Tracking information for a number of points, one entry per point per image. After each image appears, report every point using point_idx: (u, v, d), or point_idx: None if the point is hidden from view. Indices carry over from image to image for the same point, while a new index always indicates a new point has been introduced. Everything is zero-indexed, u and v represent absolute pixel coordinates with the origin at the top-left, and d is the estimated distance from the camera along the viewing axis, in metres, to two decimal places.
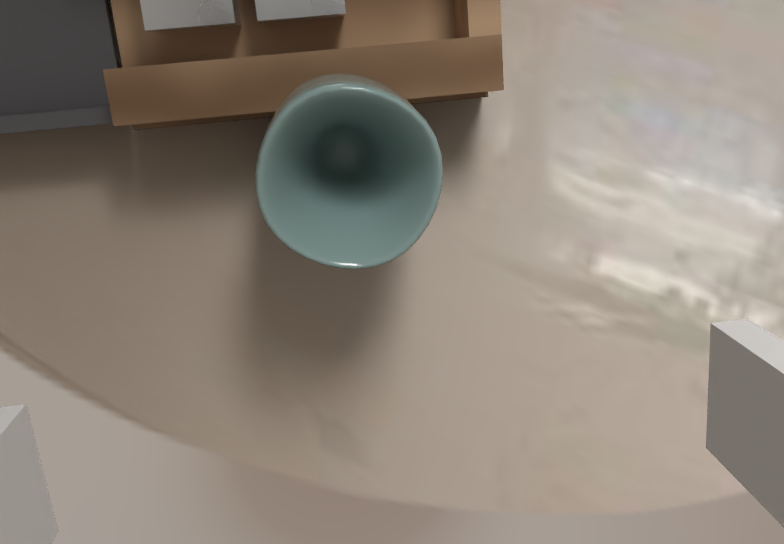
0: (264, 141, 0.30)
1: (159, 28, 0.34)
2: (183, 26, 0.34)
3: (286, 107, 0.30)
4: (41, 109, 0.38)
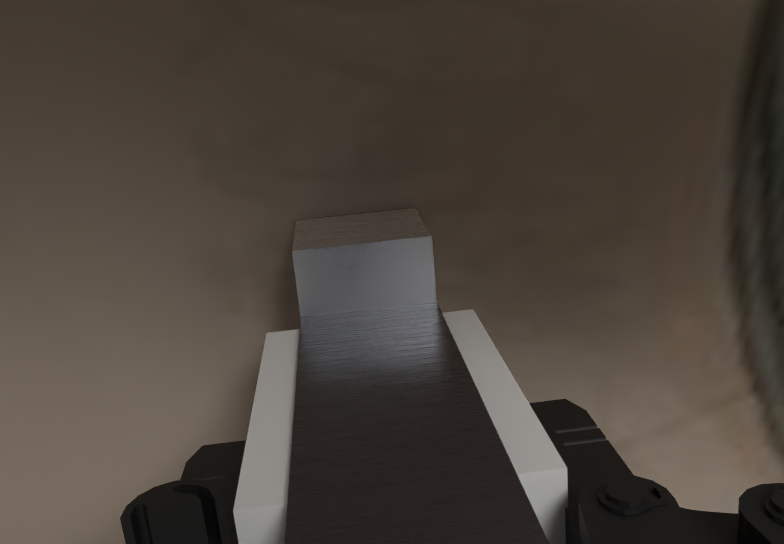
0: None
1: None
2: None
3: None
4: None
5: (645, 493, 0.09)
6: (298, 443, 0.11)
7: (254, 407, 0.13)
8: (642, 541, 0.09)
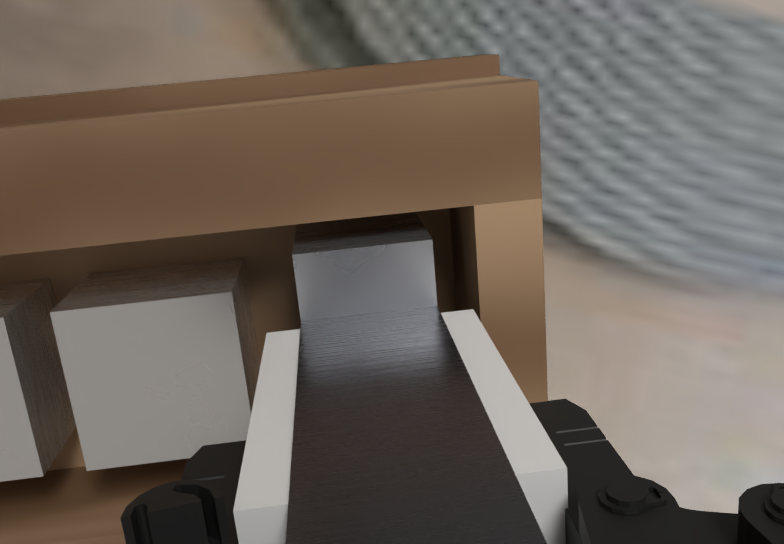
0: None
1: None
2: None
3: None
4: None
5: (645, 493, 0.09)
6: (299, 449, 0.11)
7: (254, 407, 0.13)
8: (642, 541, 0.09)
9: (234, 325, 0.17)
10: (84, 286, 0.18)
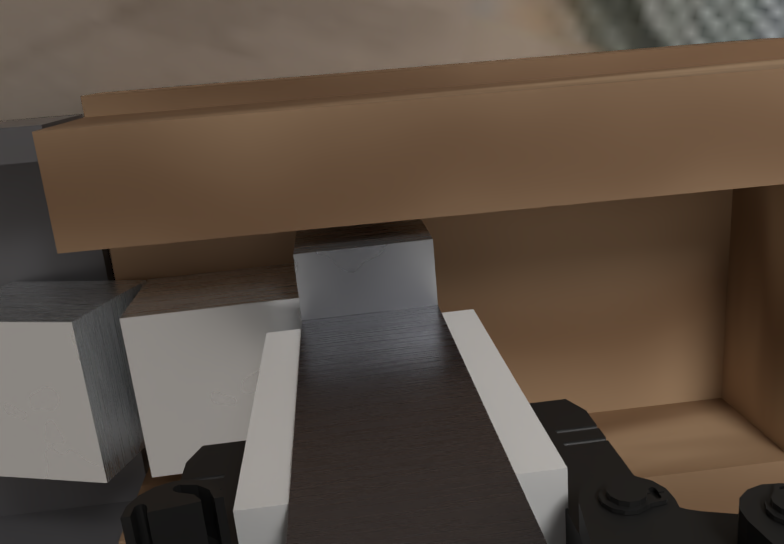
0: None
1: None
2: (24, 475, 0.18)
3: None
4: (8, 513, 0.22)
5: (645, 493, 0.09)
6: (299, 447, 0.11)
7: (254, 407, 0.13)
8: (642, 541, 0.09)
9: None
10: (147, 292, 0.18)
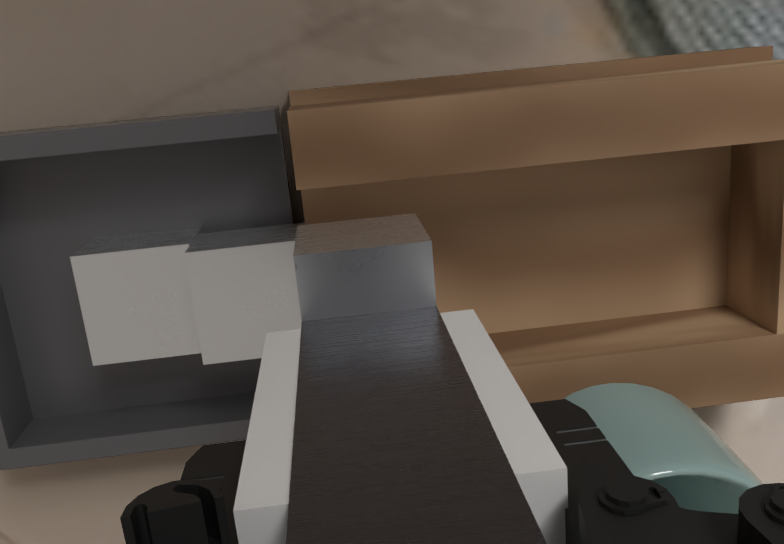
0: None
1: (111, 362, 0.27)
2: (141, 358, 0.27)
3: None
4: (213, 395, 0.30)
5: (645, 493, 0.09)
6: (299, 445, 0.11)
7: (254, 407, 0.13)
8: (642, 541, 0.09)
9: None
10: (199, 240, 0.27)
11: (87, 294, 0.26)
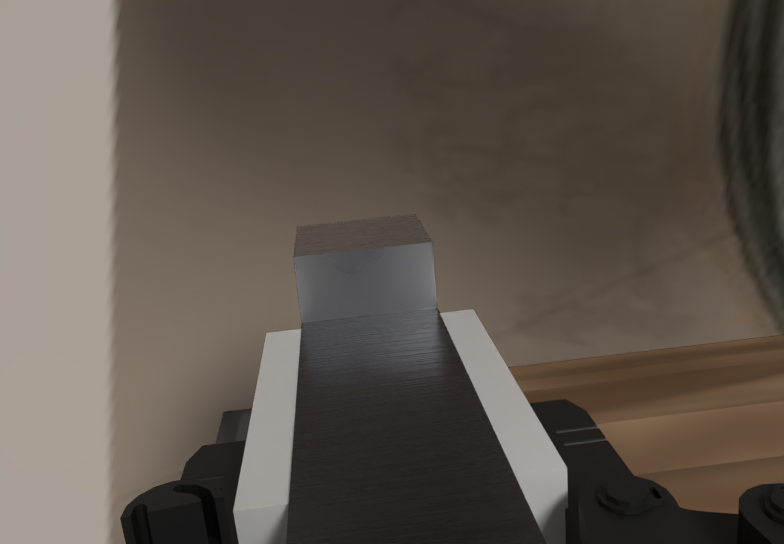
0: None
1: None
2: None
3: None
4: None
5: (645, 493, 0.09)
6: (299, 448, 0.11)
7: (254, 407, 0.13)
8: (642, 541, 0.09)
9: None
10: None
11: None
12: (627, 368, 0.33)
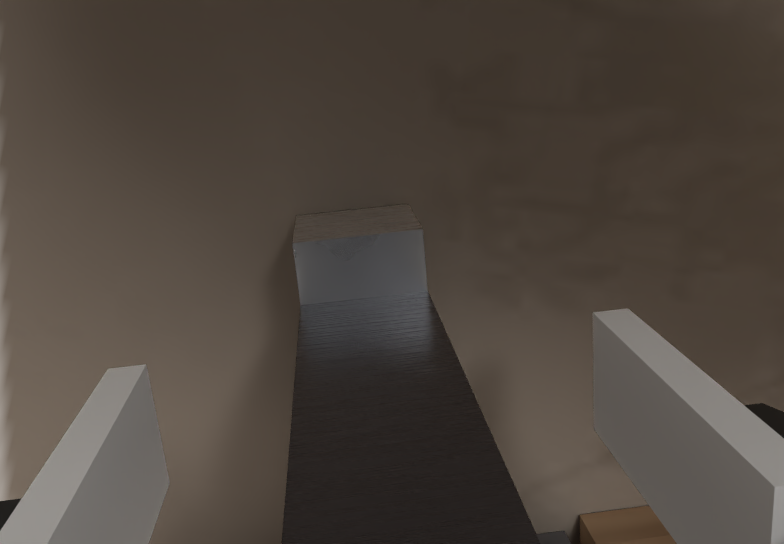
0: None
1: None
2: None
3: None
4: None
5: None
6: (298, 413, 0.12)
7: (51, 460, 0.12)
8: None
9: None
10: None
11: None
12: None
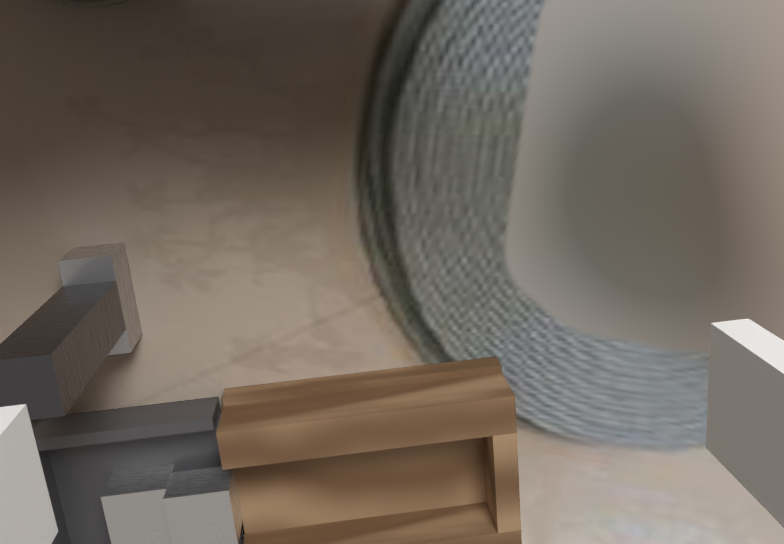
0: None
1: None
2: None
3: None
4: None
5: None
6: (29, 319, 0.38)
7: None
8: None
9: (229, 501, 0.46)
10: (172, 482, 0.48)
11: (109, 515, 0.47)
12: (305, 389, 0.48)
